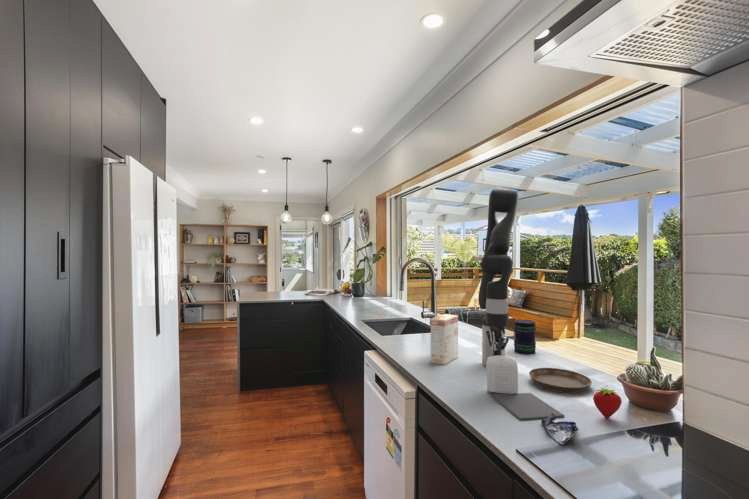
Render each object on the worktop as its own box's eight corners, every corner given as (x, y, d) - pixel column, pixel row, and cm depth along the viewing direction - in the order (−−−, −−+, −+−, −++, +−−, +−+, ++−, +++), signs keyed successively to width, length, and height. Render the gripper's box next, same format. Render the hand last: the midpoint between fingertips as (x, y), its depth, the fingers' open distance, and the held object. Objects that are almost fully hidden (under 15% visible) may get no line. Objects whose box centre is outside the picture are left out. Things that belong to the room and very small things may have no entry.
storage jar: (516, 354, 181) (516, 322, 181) (512, 349, 190) (512, 319, 190) (538, 355, 179) (538, 323, 179) (533, 349, 189) (533, 319, 189)
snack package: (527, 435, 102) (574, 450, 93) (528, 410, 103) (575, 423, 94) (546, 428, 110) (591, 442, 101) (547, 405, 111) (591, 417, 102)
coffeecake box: (444, 354, 179) (444, 313, 180) (458, 357, 175) (458, 315, 175) (429, 362, 167) (429, 318, 167) (444, 365, 163) (444, 319, 163)
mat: (491, 396, 127) (491, 395, 127) (530, 394, 130) (530, 392, 130) (520, 420, 110) (520, 418, 110) (564, 417, 112) (564, 415, 112)
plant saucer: (605, 393, 132) (605, 383, 132) (553, 398, 127) (553, 388, 127) (564, 374, 152) (564, 366, 152) (517, 378, 147) (517, 369, 147)
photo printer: (517, 389, 131) (516, 354, 130) (518, 395, 127) (517, 358, 126) (486, 387, 134) (485, 353, 134) (486, 392, 130) (485, 357, 129)
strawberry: (626, 423, 108) (626, 387, 108) (599, 422, 108) (599, 387, 108) (614, 414, 114) (614, 380, 114) (588, 413, 114) (588, 380, 114)
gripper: (516, 314, 128) (516, 365, 128) (498, 308, 141) (498, 354, 141) (495, 314, 127) (495, 366, 127) (479, 308, 140) (479, 355, 140)
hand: (496, 360), depth 134 cm, fingers closed
